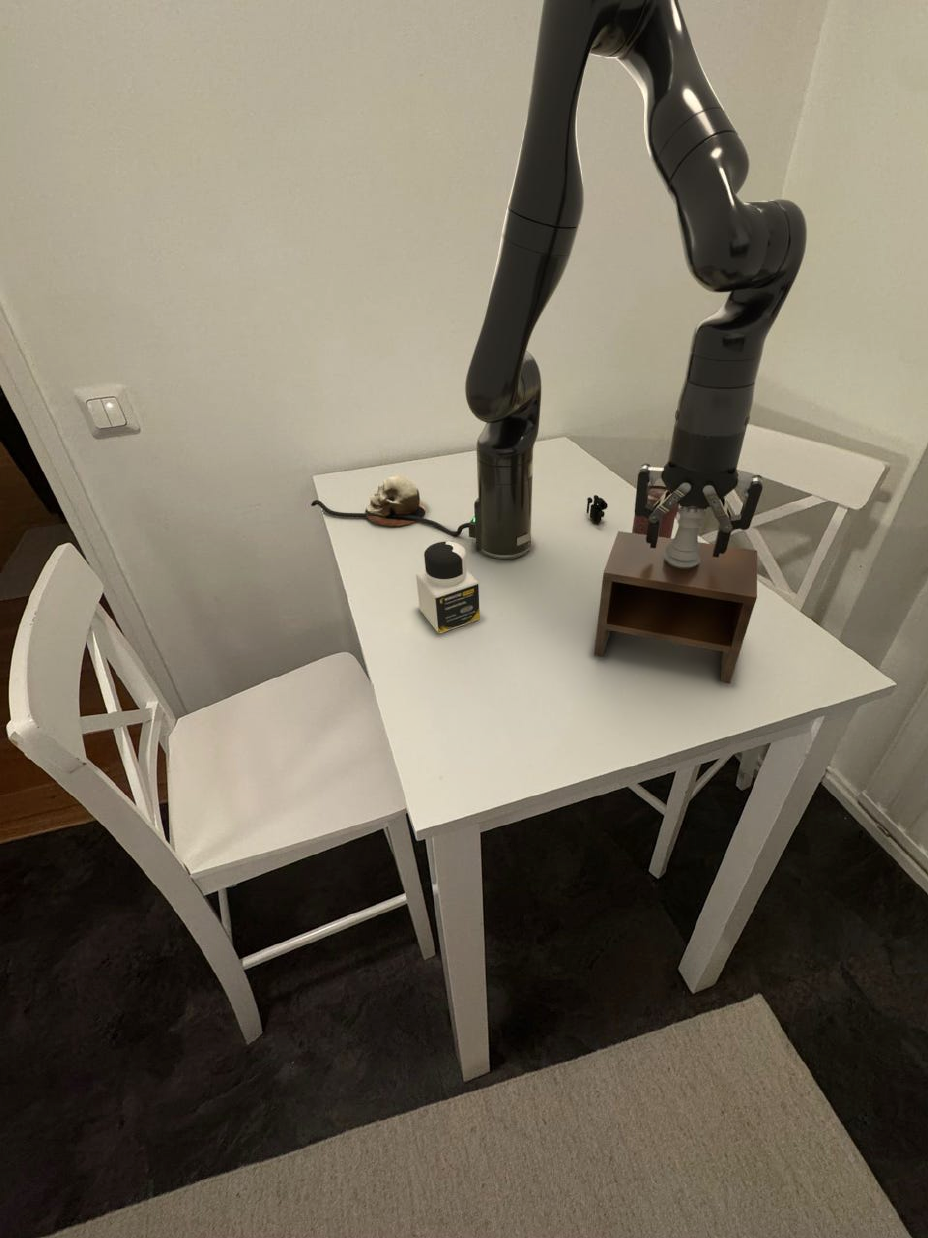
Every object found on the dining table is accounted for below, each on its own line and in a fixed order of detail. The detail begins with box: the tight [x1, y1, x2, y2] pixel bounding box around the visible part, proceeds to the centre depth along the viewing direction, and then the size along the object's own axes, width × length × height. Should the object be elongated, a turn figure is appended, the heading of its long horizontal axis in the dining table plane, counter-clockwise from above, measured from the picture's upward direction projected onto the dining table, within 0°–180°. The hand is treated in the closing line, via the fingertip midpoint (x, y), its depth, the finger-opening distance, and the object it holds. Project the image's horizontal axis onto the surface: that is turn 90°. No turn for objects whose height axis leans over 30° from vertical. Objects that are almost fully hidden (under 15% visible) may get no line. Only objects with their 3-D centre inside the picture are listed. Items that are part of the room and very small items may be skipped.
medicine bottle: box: [415, 541, 481, 634], centre depth 90 cm, size 7×7×12 cm
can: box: [631, 484, 680, 538], centre depth 97 cm, size 6×6×14 cm
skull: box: [364, 475, 426, 527], centre depth 120 cm, size 12×10×10 cm
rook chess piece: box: [664, 506, 707, 569], centre depth 75 cm, size 4×4×8 cm
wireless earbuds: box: [585, 494, 609, 526], centre depth 114 cm, size 7×2×5 cm, turn 14°
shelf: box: [593, 530, 758, 684], centre depth 82 cm, size 18×11×14 cm, turn 69°
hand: (684, 549), depth 77 cm, fingers open, 7 cm apart
